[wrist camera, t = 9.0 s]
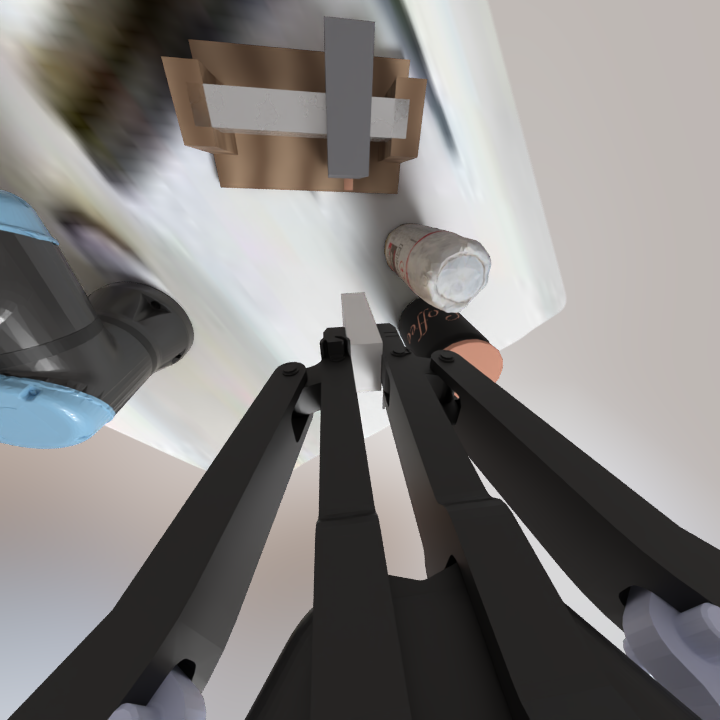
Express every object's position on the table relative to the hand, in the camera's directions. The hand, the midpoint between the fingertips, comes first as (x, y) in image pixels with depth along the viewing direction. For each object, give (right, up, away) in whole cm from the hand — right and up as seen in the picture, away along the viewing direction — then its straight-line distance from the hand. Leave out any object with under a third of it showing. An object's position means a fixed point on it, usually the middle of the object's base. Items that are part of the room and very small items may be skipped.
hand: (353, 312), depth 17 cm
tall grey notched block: (-2, +25, +14) cm, 29 cm away
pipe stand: (-6, +27, +16) cm, 32 cm away
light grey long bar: (-5, +23, +11) cm, 26 cm away
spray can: (+8, +15, +26) cm, 31 cm away
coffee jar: (+13, +5, +33) cm, 36 cm away
